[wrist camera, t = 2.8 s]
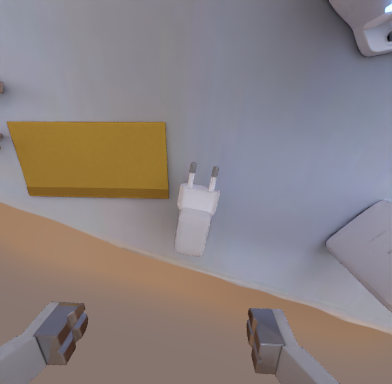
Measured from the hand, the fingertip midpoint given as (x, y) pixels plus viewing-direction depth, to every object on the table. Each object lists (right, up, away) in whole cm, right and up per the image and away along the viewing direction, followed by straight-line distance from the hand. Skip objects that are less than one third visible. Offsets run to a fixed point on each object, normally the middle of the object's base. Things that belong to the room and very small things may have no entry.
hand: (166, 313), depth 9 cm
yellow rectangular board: (-12, +10, +16) cm, 23 cm away
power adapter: (+2, +5, +17) cm, 18 cm away
